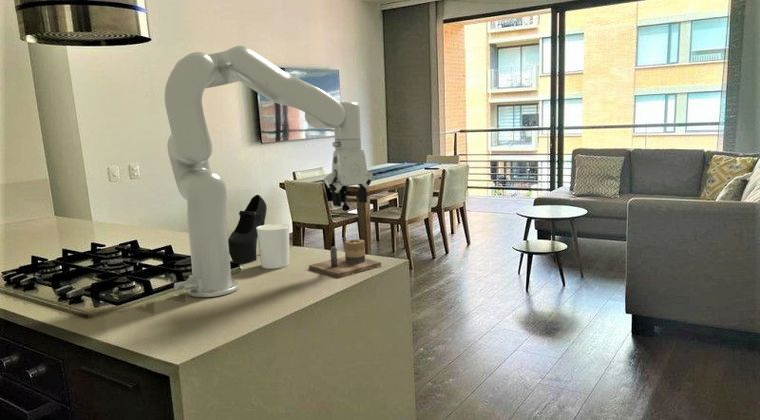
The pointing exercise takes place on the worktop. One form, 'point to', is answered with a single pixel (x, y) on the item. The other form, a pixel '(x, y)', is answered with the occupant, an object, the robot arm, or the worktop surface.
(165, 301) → the worktop surface
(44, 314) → the worktop surface
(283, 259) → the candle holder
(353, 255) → the sleeve
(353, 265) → the pin board
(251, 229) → the high-heeled shoe
